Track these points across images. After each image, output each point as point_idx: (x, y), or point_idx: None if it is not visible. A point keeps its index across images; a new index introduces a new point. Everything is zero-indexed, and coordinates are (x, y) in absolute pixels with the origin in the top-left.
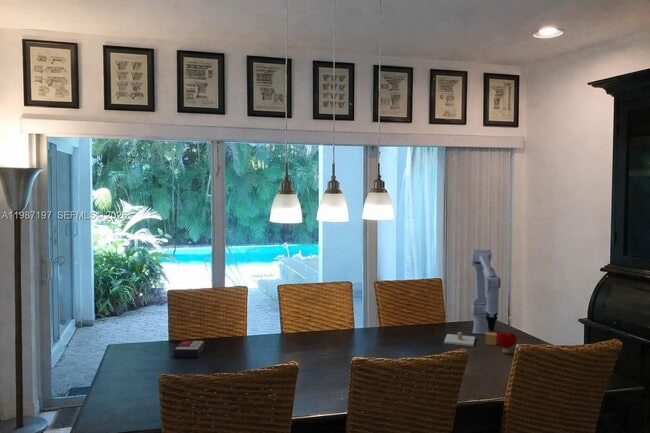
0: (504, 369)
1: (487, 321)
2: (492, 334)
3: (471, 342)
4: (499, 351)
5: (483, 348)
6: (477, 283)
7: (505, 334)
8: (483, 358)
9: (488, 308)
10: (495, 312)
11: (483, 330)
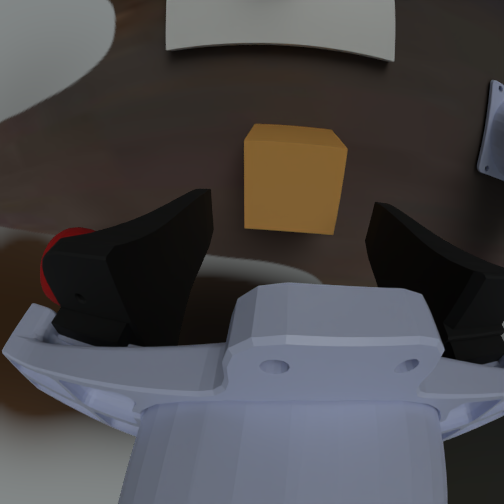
0: (2, 225)
1: (116, 226)
2: (265, 198)
3: (209, 29)
4: (142, 207)
5: (154, 117)
6: None
7: (54, 302)
8: (27, 151)
9: (128, 474)
10: (128, 430)
11: (501, 152)
